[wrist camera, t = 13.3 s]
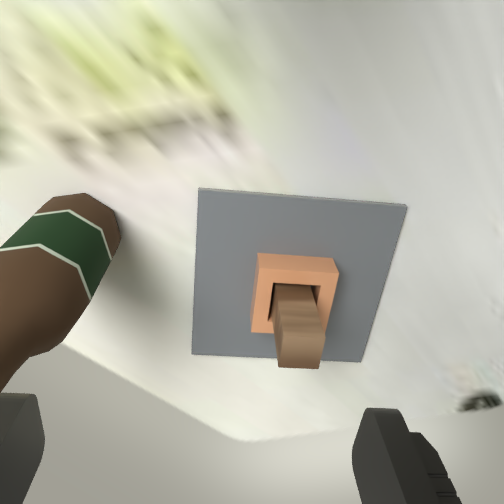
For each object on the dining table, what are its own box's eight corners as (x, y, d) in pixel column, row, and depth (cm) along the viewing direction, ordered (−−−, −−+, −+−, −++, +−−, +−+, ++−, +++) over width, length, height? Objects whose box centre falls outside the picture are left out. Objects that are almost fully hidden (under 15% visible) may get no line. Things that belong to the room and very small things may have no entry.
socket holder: (198, 187, 39) (195, 202, 36) (405, 204, 41) (419, 219, 37) (191, 350, 48) (189, 373, 45) (359, 358, 50) (367, 381, 47)
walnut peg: (273, 271, 43) (284, 335, 34) (306, 274, 43) (325, 337, 35) (269, 299, 45) (278, 367, 36) (301, 301, 45) (318, 369, 36)
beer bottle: (22, 214, 39) (-216, 433, 18) (87, 174, 38) (-93, 363, 17) (78, 274, 43) (-69, 516, 22) (139, 239, 41) (44, 464, 20)
